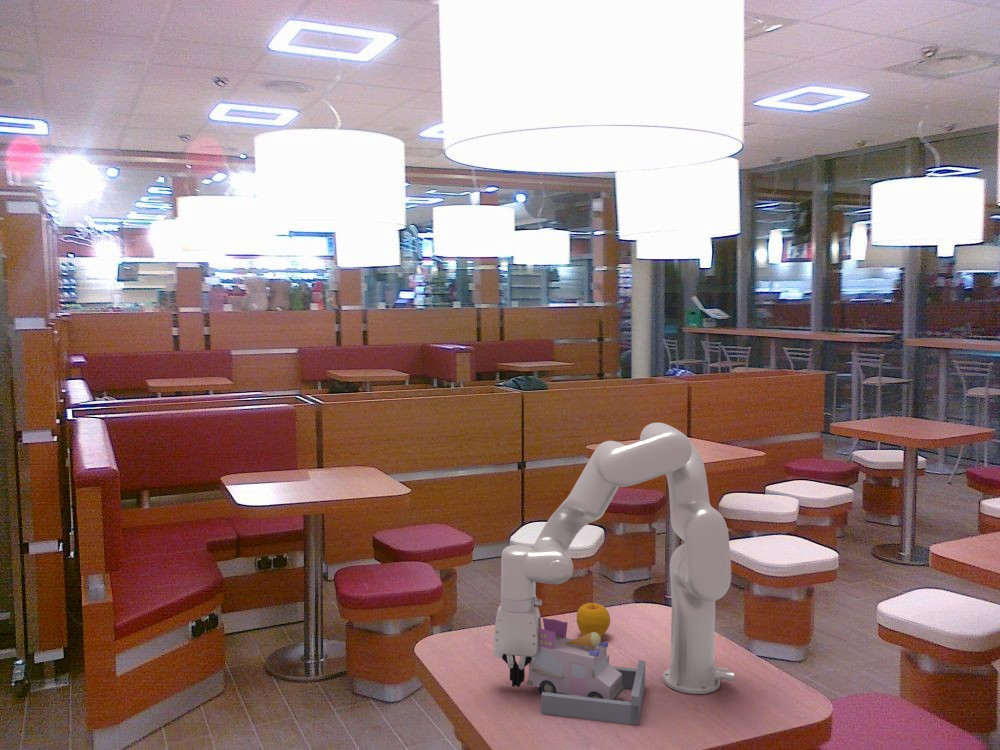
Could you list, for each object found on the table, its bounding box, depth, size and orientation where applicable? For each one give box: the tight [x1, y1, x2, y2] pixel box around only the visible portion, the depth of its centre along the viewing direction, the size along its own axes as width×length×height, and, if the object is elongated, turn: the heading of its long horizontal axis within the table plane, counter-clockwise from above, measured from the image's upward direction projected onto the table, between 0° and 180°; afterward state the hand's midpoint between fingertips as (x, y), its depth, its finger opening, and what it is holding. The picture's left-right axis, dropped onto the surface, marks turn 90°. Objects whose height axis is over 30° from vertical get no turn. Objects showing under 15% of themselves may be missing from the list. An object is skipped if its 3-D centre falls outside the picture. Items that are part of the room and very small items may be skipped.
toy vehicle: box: [526, 617, 625, 700], centre depth 189 cm, size 9×20×15 cm, turn 62°
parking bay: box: [540, 660, 646, 726], centre depth 188 cm, size 20×18×6 cm
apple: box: [576, 602, 611, 639], centre depth 222 cm, size 9×8×9 cm
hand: (517, 683), depth 192 cm, fingers closed
